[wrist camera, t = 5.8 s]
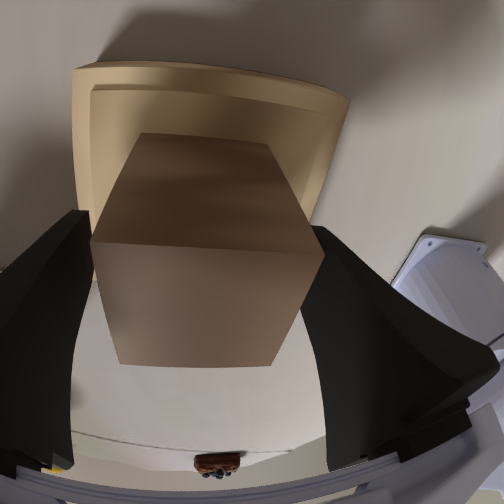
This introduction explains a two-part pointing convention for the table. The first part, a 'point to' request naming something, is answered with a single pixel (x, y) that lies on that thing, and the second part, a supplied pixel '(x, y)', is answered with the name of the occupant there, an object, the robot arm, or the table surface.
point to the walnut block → (202, 254)
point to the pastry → (217, 464)
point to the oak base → (198, 120)
